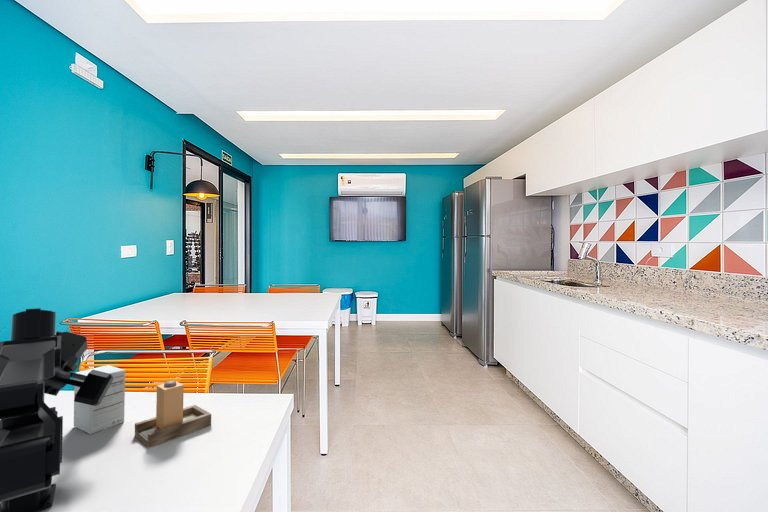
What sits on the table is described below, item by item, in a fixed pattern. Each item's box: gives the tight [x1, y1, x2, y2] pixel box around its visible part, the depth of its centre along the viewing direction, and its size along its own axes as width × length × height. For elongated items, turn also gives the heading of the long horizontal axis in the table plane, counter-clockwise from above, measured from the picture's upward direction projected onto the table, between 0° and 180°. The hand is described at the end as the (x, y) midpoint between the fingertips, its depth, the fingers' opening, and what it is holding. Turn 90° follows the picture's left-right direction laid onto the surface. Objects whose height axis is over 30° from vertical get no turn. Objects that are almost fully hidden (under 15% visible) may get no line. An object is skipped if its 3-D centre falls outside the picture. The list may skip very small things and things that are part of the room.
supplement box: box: [73, 364, 126, 435], centre depth 85 cm, size 7×7×13 cm
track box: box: [134, 404, 212, 449], centre depth 83 cm, size 13×8×3 cm, turn 143°
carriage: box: [155, 380, 185, 429], centre depth 82 cm, size 4×4×10 cm
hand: (68, 383), depth 78 cm, fingers open, 9 cm apart
